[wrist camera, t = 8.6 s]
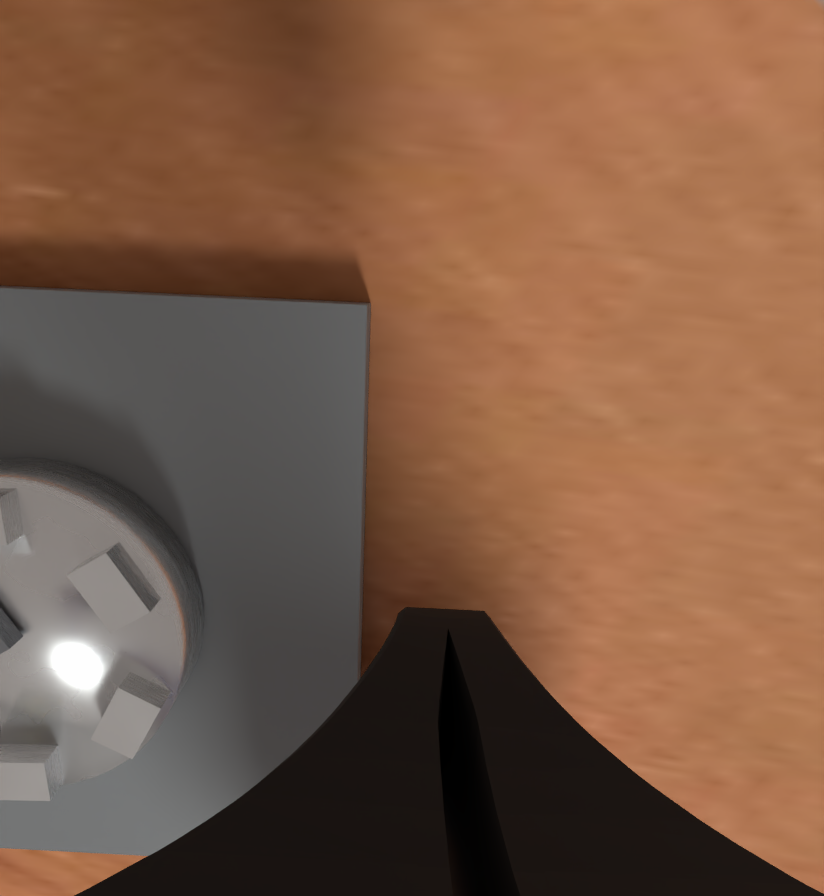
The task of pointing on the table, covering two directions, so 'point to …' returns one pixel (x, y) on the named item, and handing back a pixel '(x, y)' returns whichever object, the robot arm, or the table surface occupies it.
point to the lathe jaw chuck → (85, 625)
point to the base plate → (207, 523)
